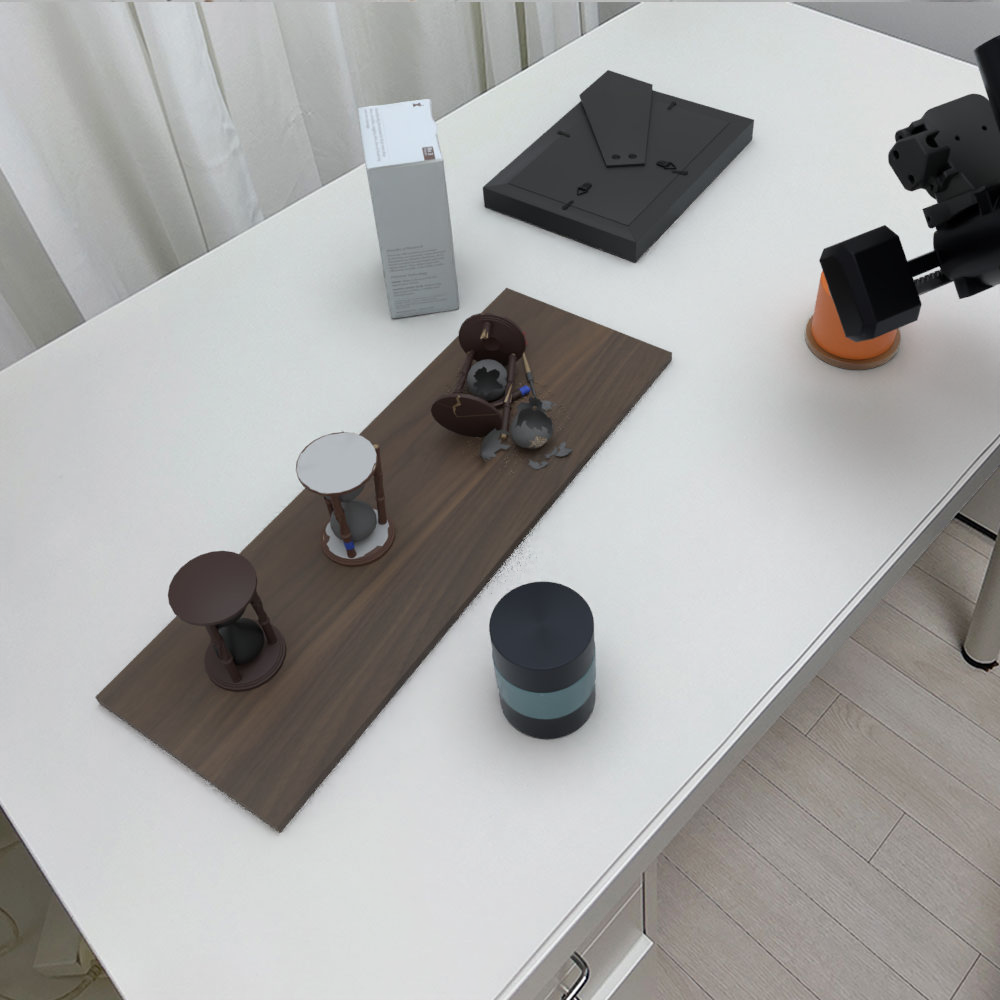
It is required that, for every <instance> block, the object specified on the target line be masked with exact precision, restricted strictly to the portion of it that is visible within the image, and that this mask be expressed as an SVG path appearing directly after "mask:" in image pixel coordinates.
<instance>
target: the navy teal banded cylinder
mask: <svg viewBox="0 0 1000 1000" xmlns="http://www.w3.org/2000/svg"><path fill="white" fill-rule="evenodd" d="M490 614H491V615H490V618H489V624H488V631H489V638H490V645H491V657H492V662H493V668H494V669H493V670H494V675H495V681H496V687H497V689H498V690H497V691H498V696H499V701H500V702H499V703H500V707H501V710H502V713H503V715H504V717H505V718H506V720H507V721H508V723H509V724H510V725H511V726H512V727H513V728H514V729H516V730H517V731H518V732H520V733H521V734H524V735H525V736H528V737H531V738H535V739H540V740H555V739H559V738H563V737H566V736H568V735H571V734H573V733H574V732H576V731H578V730H579V729H580V728H581V727H583V725H584V724H586V723H587V721H588V719H590V717H591V715H592V714H593V711H594V708H595V704H596V681H597V680H596V679H597V662H596V661H597V657H596V642H595V619H594V615H593V611H592V609H591V607H590V605H589V604H588V602H587V600H585V598H584V597H583V596H582V595H581V594H580V593H579V592H577V591H575V590H574V589H573V588H571V587H569V586H567V585H564V584H562V583H558V582H552V581H533V582H527V583H525V584H522V585H519V586H517V587H514V588H513V589H511V590H510V591H508V592H507V593H505V594H504V595H503V596H502V597H501V598H500V599H499V601H497V602H496V604H495V606H494V608H493V610H492V611H491V613H490Z"/></svg>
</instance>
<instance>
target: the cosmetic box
mask: <svg viewBox="0 0 1000 1000" xmlns="http://www.w3.org/2000/svg"><path fill="white" fill-rule="evenodd" d="M357 113H358V124H359V133H360V140H361V147H362V154H363V159H364V165H365V171H366V176H367V182H368V188H369V193H370V200H371V206H372V213H373V217H374V223H375V230H376V235H377V241H378V247H379V253H380V259H381V266H382V272H383V278H384V284H385V291H386V297H387V304H388V309H389V315H390V318H392V319H400V318H406V317H407V318H408V317H415V316H420V315H421V316H422V315H426V314H428V315H429V314H434V313H443V312H447V311H448V312H449V311H455V310H458V309H459V308H460V300H459V290H458V277H457V276H458V275H457V267H456V260H455V249H454V247H455V246H454V239H453V229H452V222H451V221H452V220H451V213H450V211H451V210H450V203H449V196H448V187H447V186H448V185H447V180H446V171H445V163H444V162H445V161H444V157H443V153H442V149H441V145H440V140H439V137H438V130H439V129H438V125H437V122H436V121H435V119H434V110H433V103H432V99H430V98H424V99H417V100H416V99H415V100H407V101H400V102H394V103H388V104H387V103H386V104H380V105H379V104H377V105H368V106H367V105H366V106H362V107H358V109H357Z"/></svg>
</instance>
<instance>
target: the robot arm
mask: <svg viewBox="0 0 1000 1000" xmlns="http://www.w3.org/2000/svg"><path fill="white" fill-rule="evenodd" d="M972 52H973V56H974V59H975V61H976V65H977V68H978V71H979V74H980V77H981V80H982V84H983V86H984V89H985V93H986V96H987V97H985V96H984V95H982V94H979V93H970V94H969V93H968V94H966V95H964V96H960V97H958V98H955V99H953V100H949V101H947V102H945V103H942V104H939V105H937V106H933V107H931V108H929V109H928V110H926V111H925V112H924V114H922V116H921V117H920V119H917V120H915V121H912V122H910V124H909V125H908V126H907V127H904V128H902V129H901V128H900V129H898V130H897V131H896V132H895V134H894V140H895V143H894V144H893V145H892V146H891V148H890V150H889V152H888V153H887V159H888V160H887V161H888V165H889V166H890V168H891V169H892V171H893V172H894V174H895V175H896V177H897V179H898V180H899V183H900V184H901V185H902V186H903V188H904V190H906V191H908V192H915V191H917V190H925V191H926V193H927V194H928V195H929V196H930V198H932V199H934V200H936V203H934V204H932V205H928V206H927V207H924V208H922V212H923V217H924V218H925V220H926V224H927V227H928V228H929V229H934V228H935V231H934V233H933V236H932V237H933V238H932V248H933V250H930V251H928V252H926V253H923V254H920V255H919V256H918V255H917V256H916V257H914V258H911V259H907V256H906V252H905V249H904V247H903V243H902V242H901V239H900V238H901V237H900V236H899V235H898V234H897V233H896V232H894V231H893V230H892V229H891V228H890V227H888V226H887V225H886V224H883V225H880V226H878V227H875V228H873V229H870V230H868V231H866V232H863V233H860V234H857V235H855V236H852V237H850V238H847V239H845V240H842V241H840V242H837V243H835V244H832V245H829V246H826V247H824V248H823V249H822V252H821V255H820V257H819V260H818V261H819V264H820V266H821V269H822V270H821V271H823V273H824V275H825V278H826V281H827V284H828V289H829V292H830V295H831V297H832V300H833V301H834V304H835V307H836V310H837V313H838V316H839V319H840V322H841V324H842V327H843V330H844V333H845V336H846V337H847V338H849V339H850V340H852V341H854V342H861V341H865V340H870V339H874V338H876V337H879V336H881V335H883V334H886V333H888V332H891V331H893V330H895V329H898V328H899V329H900V328H902V327H904V326H907V325H910V324H912V323H914V322H916V321H918V319H919V315H920V312H921V308H922V305H923V303H922V301H921V299H920V297H921V296H922V295H924V294H926V293H929V292H931V291H934V290H936V289H939V288H941V287H943V286H946V285H948V284H951V283H953V284H954V287H955V290H956V293H957V297H958V299H959V300H962V299H966V298H970V297H973V296H975V295H977V294H980V293H982V292H985V291H987V290H989V289H991V288H994V287H996V286H998V285H1000V34H999V35H996V36H994V37H992V38H990V39H989V40H987V41H985V42H983V43H981V44H980V45H978V46H977V47H976V48H974V49H973V51H972ZM937 268H939V270H936V271H935V270H934V269H937ZM933 270H934V271H933ZM930 271H933V272H930ZM927 272H930V273H929V274H925V275H924V276H920V277H918V278H915V277H917V276H919V275H922V274H924V273H927ZM914 278H915V279H914Z"/></svg>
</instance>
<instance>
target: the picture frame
mask: <svg viewBox="0 0 1000 1000" xmlns="http://www.w3.org/2000/svg"><path fill="white" fill-rule="evenodd" d="M579 99H580V101H579V102H578V103H577V104H576V105H574V107H572V108H571V109H569V110H568V111H567V112H566V113H565V114H564V115H563V116H562V117H561V118H559V119H558V121H556V122H555V123H554V124H553V125H551V127H549V128H548V129H547V130H546V131H545V132H544V133H542V135H540V136H539V137H538V138H537V139H536V140H535V141H533V142H531V144H530V145H529V146H528V147H527V148H525V149H524V150H523V151H522V152H521V153H520V154H519V155H517V156H516V157H515V158H514V159H513V160H512V161H511V162H510V163H509V164H508V165H506V166H505V167H504V168H503V169H501V170H500V171H499V172H498V173H497V174H496V175H494V177H493V178H492V179H490V180H489V181H488V182H487V183H486V184H485V185H483V186H482V194H483V204H484V208H486V209H490V210H492V211H495V212H498V213H500V214H503V215H506V216H509V217H511V218H514V219H516V220H520V221H522V222H524V223H527V224H530V225H532V226H536V227H538V228H540V229H544V230H546V231H548V232H553V233H554V234H557V235H560V236H563V237H565V238H568V239H570V240H573V241H576V242H579V243H582V244H585V245H586V246H589V247H592V248H595V249H598V250H600V251H603V252H606V253H609V254H611V255H614V256H617V257H619V258H622V259H624V260H627V261H630V262H632V263H636V262H637V261H639V259H640V258H641V257H642V256H643V255H644V254H645V253H646V252H647V251H648V250H649V249H650V248H651V247H652V246H653V245H654V244H655V243H656V241H657V240H658V239H659V238H660V237H661V236H662V235H663V234H664V233H665V232H666V231H667V230H668V229H669V228H670V227H671V226H672V225H673V224H674V223H675V221H676V220H677V219H678V218H679V217H680V216H681V215H683V213H684V212H685V211H686V210H687V209H688V208H689V207H690V206H691V204H692V203H693V202H695V200H696V199H697V198H698V197H699V196H700V195H701V194H702V193H703V192H704V191H706V189H707V188H708V187H709V185H710V184H712V182H714V180H715V179H717V177H718V176H719V175H720V174H721V173H722V172H723V171H724V170H725V169H726V168H727V167H728V166H729V165H730V163H732V161H733V160H734V159H735V158H736V157H737V156H738V155H739V154H740V153H741V152H742V151H743V150H744V149H745V148H746V147H747V146H748V144H750V143H751V142H752V140H753V134H754V127H755V119H754V118H750V117H746V116H742V115H739V114H736V113H733V112H730V111H726V110H722V109H718V108H716V107H712V106H708V105H705V104H702V103H698V102H694V101H692V100H688V99H684V98H680V97H678V96H674V95H671V94H667V93H664V92H660V91H657V90H653V84H652V83H649V82H646V81H643V80H640V79H637V78H634V77H631V76H628V75H625V74H621V73H619V72H615V71H613V70H609V69H607V70H606V71H605V72H604V73H603V74H602V75H600V76H599V77H597V79H596V80H595V81H593V82H592V83H591V84H590V85H589V86H587V88H586V89H584V90H583V91H582V92H581V93H580V94H579Z"/></svg>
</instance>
